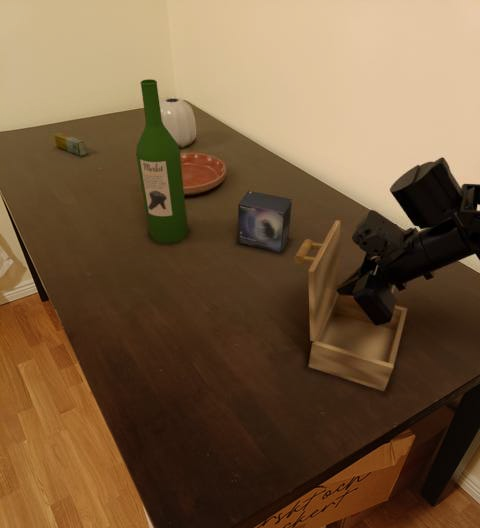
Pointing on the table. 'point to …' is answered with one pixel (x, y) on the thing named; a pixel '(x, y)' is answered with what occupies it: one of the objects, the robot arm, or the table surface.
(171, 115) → the vase
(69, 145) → the medication box
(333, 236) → the chest lid
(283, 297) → the table surface
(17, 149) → the table surface
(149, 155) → the wine bottle
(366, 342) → the chest
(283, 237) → the small box
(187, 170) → the saucer
